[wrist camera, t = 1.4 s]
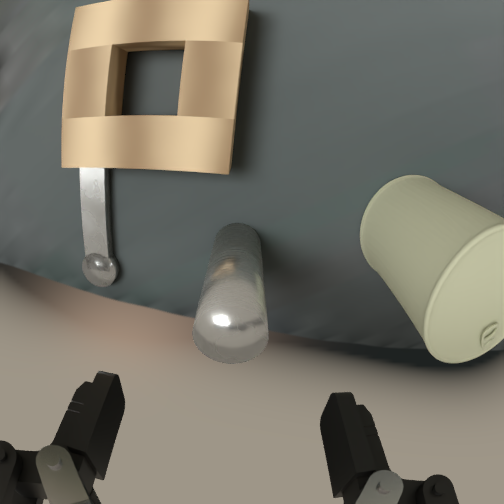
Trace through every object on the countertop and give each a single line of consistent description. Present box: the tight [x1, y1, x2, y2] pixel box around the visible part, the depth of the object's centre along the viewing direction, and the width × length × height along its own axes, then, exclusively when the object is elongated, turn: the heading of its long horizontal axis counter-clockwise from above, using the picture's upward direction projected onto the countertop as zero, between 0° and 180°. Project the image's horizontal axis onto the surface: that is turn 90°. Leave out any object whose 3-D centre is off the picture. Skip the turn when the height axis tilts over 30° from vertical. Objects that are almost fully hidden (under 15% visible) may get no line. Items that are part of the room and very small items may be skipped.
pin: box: [192, 223, 269, 364], centre depth 20 cm, size 4×4×11 cm
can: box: [360, 175, 504, 363], centre depth 19 cm, size 9×9×12 cm
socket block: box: [62, 0, 249, 174], centre depth 18 cm, size 12×12×3 cm
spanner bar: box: [80, 168, 119, 287], centre depth 23 cm, size 11×3×1 cm, turn 174°
